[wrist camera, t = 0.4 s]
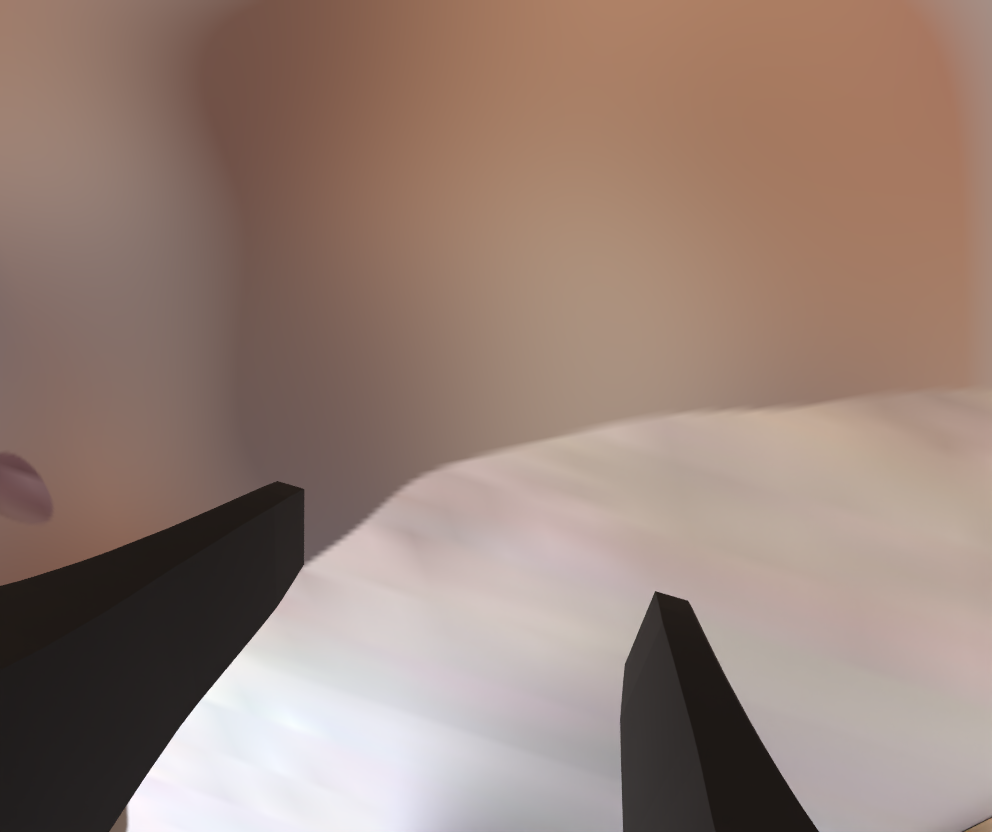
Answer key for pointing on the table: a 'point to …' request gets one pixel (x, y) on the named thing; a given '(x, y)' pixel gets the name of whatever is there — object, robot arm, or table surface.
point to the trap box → (982, 827)
